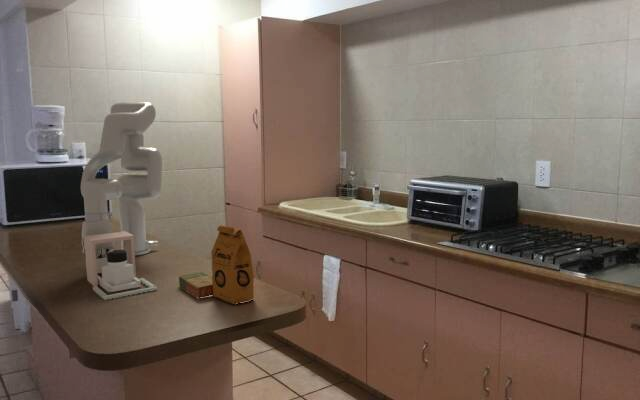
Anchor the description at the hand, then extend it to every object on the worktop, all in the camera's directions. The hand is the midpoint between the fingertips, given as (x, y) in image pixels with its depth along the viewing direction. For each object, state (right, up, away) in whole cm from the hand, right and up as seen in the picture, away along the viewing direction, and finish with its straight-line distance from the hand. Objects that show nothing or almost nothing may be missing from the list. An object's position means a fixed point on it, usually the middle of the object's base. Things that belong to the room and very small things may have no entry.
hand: (100, 267), depth 200 cm
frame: (+16, -4, -22) cm, 27 cm away
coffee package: (+52, -6, -32) cm, 62 cm away
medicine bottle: (+13, -4, -17) cm, 22 cm away
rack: (+9, -3, -11) cm, 15 cm away
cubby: (+8, -3, -10) cm, 13 cm away
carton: (+41, -5, -23) cm, 47 cm away
